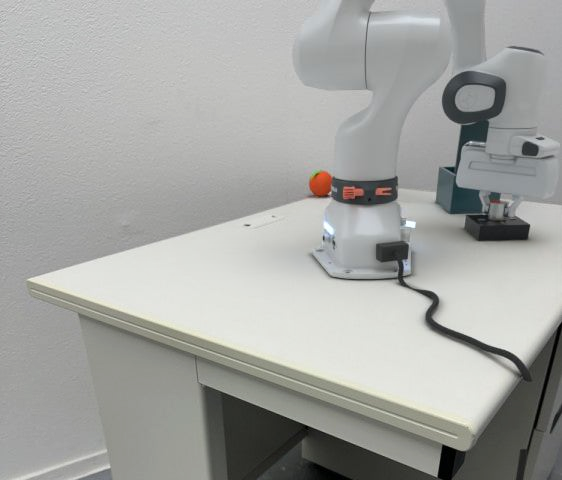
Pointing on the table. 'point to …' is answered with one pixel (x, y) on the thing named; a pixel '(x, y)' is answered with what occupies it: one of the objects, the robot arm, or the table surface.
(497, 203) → the knob
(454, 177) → the teal open box
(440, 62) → the robot arm
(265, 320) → the table surface
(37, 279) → the table surface
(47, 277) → the table surface
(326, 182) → the clementine
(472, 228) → the control panel
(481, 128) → the box lid
